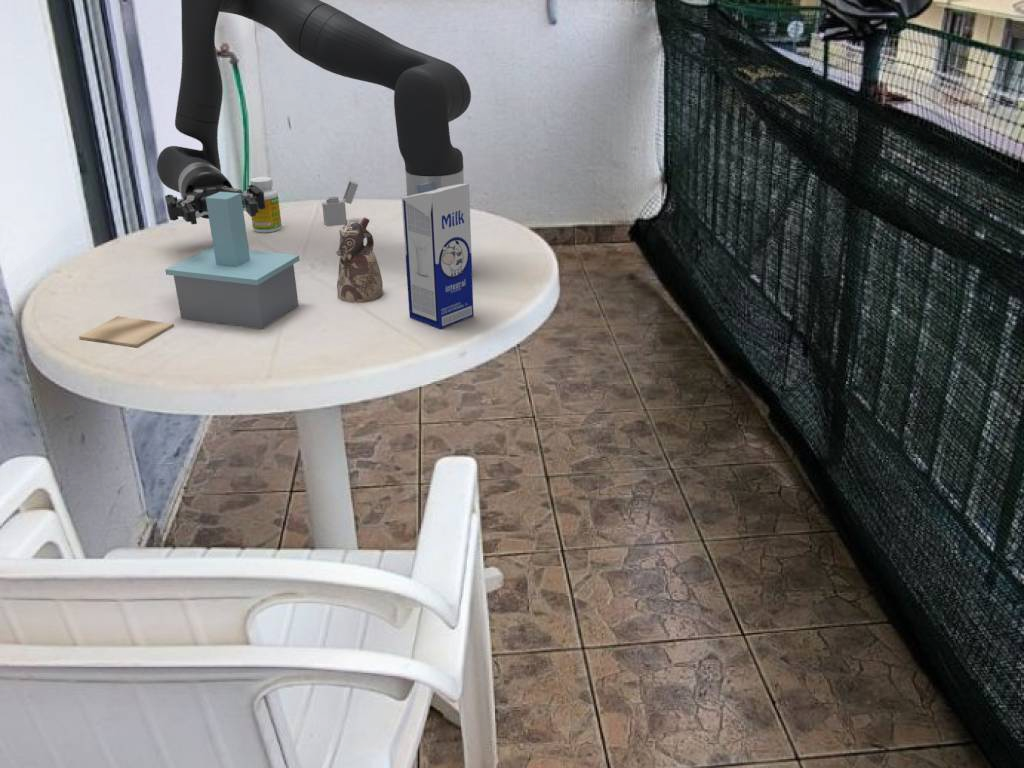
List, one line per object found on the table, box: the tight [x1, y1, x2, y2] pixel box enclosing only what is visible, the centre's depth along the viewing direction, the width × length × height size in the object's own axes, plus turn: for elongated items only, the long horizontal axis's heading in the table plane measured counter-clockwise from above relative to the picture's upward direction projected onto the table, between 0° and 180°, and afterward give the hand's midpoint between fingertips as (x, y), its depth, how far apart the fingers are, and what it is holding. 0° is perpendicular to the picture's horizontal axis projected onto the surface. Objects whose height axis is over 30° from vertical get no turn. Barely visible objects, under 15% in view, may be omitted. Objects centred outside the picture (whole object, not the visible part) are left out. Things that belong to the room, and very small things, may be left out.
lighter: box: [321, 180, 359, 227], centre depth 183 cm, size 7×2×8 cm, turn 116°
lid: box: [164, 192, 301, 285], centre depth 137 cm, size 15×11×11 cm
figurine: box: [335, 217, 384, 303], centre depth 146 cm, size 7×7×12 cm
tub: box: [173, 264, 299, 330], centre depth 141 cm, size 14×10×7 cm
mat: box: [78, 315, 175, 348], centre depth 135 cm, size 10×8×1 cm
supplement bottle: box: [249, 176, 282, 234], centre depth 179 cm, size 5×5×10 cm
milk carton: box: [400, 181, 474, 330], centre depth 135 cm, size 7×7×20 cm
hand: (223, 213), depth 138 cm, fingers open, 8 cm apart
